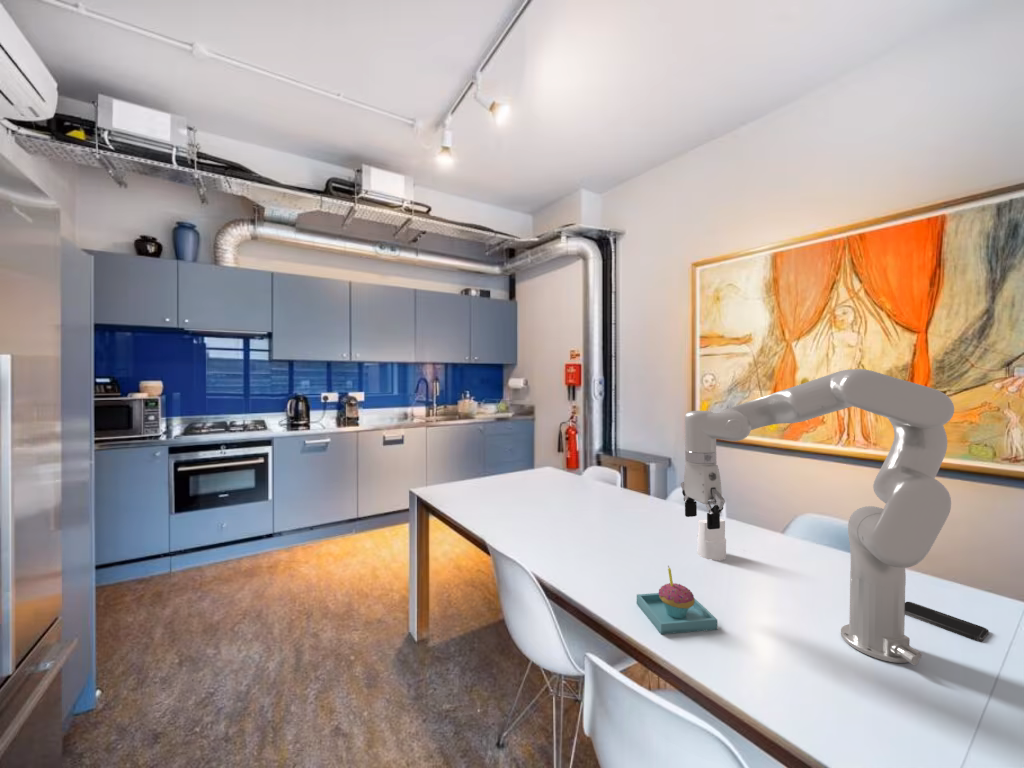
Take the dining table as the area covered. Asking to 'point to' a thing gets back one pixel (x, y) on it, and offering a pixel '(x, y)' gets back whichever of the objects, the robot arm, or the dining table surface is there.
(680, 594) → the cupcake
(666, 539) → the dining table surface
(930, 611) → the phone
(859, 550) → the robot arm
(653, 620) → the tray
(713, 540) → the base with upright slab
